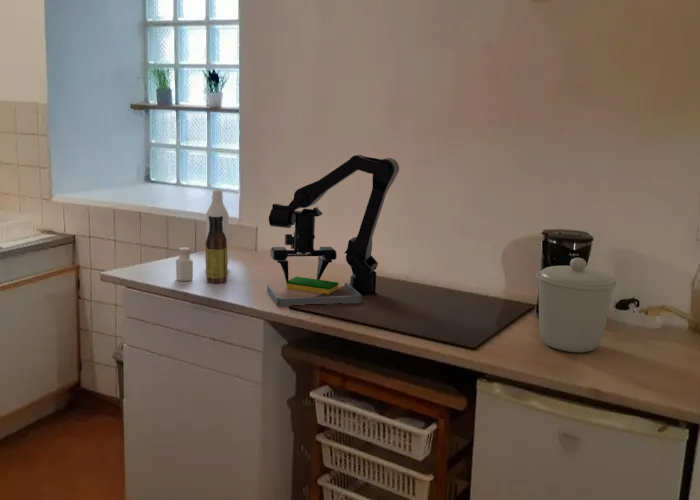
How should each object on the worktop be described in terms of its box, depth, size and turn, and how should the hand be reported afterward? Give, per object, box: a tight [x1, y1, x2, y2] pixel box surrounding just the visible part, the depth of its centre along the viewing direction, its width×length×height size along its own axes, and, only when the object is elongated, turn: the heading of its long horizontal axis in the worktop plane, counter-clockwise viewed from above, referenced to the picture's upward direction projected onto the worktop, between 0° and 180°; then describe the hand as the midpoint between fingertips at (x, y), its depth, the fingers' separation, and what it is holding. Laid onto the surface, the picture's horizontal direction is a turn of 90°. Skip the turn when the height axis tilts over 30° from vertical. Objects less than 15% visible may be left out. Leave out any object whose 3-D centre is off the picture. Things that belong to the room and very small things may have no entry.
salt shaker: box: [175, 246, 194, 282], centre depth 211 cm, size 4×4×10 cm
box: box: [266, 282, 364, 307], centre depth 199 cm, size 24×15×2 cm, turn 107°
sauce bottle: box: [204, 214, 228, 284], centre depth 210 cm, size 7×6×20 cm
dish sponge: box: [285, 276, 339, 295], centre depth 209 cm, size 7×14×2 cm, turn 68°
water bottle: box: [204, 189, 230, 266], centre depth 225 cm, size 7×7×25 cm
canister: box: [535, 257, 619, 353], centre depth 166 cm, size 18×18×21 cm
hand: (302, 281), depth 212 cm, fingers open, 9 cm apart
